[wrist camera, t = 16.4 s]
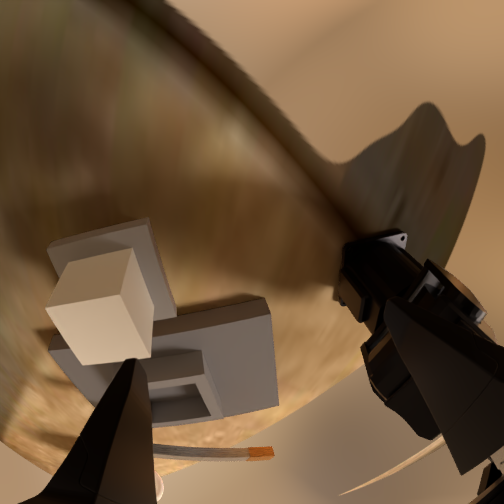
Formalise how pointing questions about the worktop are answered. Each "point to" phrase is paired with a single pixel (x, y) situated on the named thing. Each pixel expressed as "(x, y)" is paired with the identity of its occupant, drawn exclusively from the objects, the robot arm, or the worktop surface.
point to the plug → (109, 292)
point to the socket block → (195, 365)
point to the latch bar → (212, 453)
